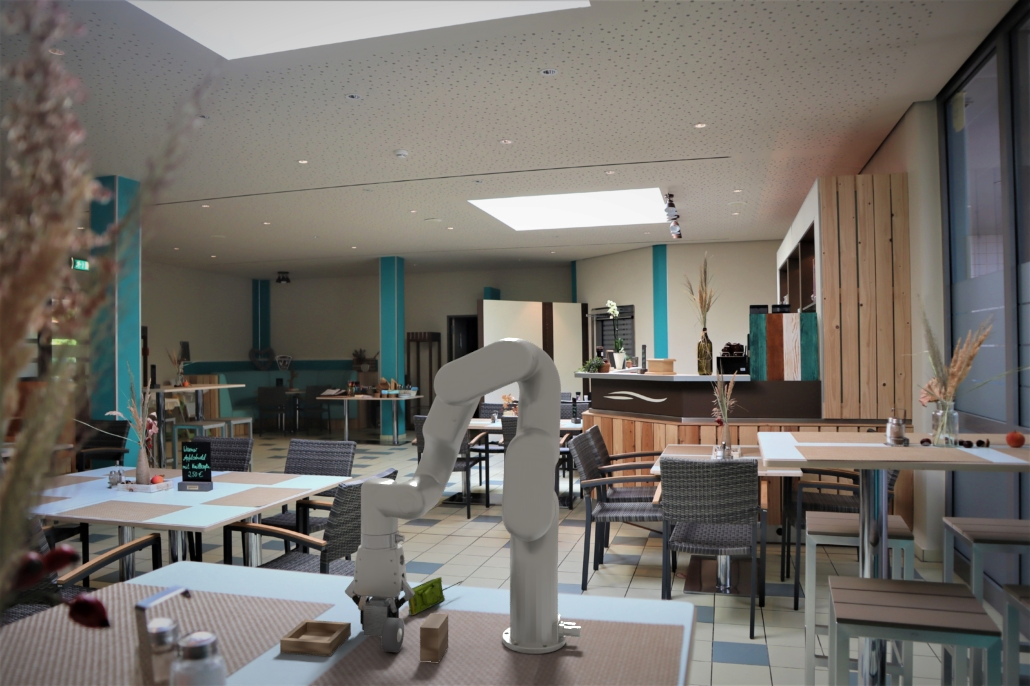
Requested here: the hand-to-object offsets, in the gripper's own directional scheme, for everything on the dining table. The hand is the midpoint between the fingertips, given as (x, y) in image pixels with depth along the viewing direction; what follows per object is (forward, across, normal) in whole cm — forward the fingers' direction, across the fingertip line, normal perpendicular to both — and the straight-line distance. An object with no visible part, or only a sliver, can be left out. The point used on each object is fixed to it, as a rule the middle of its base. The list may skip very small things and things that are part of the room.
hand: (379, 627), depth 143 cm
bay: (+1, +10, +8) cm, 13 cm away
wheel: (+1, -6, +9) cm, 11 cm away
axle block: (+1, -14, +9) cm, 17 cm away
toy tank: (+1, -8, -17) cm, 19 cm away
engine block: (+1, 0, 0) cm, 1 cm away
